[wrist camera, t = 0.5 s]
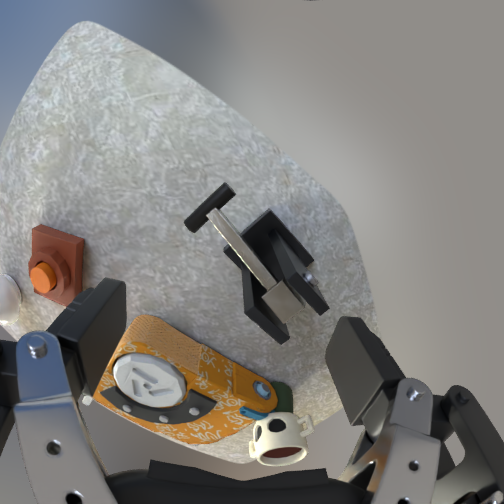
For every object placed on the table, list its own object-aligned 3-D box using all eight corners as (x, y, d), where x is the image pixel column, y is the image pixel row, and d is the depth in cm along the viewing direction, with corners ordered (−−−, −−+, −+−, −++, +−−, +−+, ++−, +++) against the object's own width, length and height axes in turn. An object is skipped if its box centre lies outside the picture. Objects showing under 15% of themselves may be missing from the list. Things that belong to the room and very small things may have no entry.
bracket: (223, 248, 32) (217, 306, 20) (269, 207, 30) (291, 244, 18) (268, 292, 34) (284, 362, 22) (311, 256, 33) (351, 313, 21)
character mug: (287, 364, 39) (303, 433, 27) (311, 385, 41) (330, 447, 29) (233, 395, 41) (234, 461, 28) (259, 413, 43) (266, 473, 31)
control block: (40, 224, 29) (24, 232, 25) (84, 238, 30) (69, 249, 26) (41, 285, 32) (27, 297, 28) (81, 302, 33) (69, 317, 30)
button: (36, 258, 27) (29, 263, 25) (56, 266, 27) (49, 272, 26) (37, 282, 28) (31, 288, 26) (57, 291, 29) (50, 297, 27)
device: (199, 467, 37) (46, 388, 29) (201, 434, 45) (65, 357, 37) (289, 417, 32) (80, 299, 24) (281, 377, 40) (109, 267, 32)
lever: (190, 222, 25) (178, 220, 23) (229, 185, 24) (220, 178, 22) (274, 326, 23) (269, 334, 21) (319, 291, 22) (319, 296, 20)
